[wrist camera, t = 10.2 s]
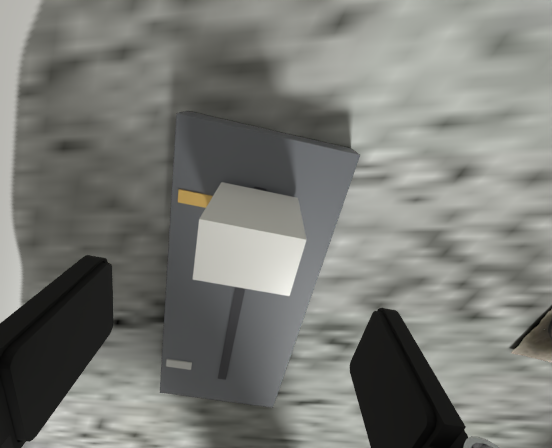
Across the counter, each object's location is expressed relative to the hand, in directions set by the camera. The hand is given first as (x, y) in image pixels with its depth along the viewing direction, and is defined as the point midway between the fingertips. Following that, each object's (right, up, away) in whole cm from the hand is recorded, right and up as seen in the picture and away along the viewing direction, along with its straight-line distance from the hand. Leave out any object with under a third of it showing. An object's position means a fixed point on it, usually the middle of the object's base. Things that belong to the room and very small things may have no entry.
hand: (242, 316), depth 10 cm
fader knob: (0, +4, +6) cm, 7 cm away
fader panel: (-1, -1, +12) cm, 12 cm away
